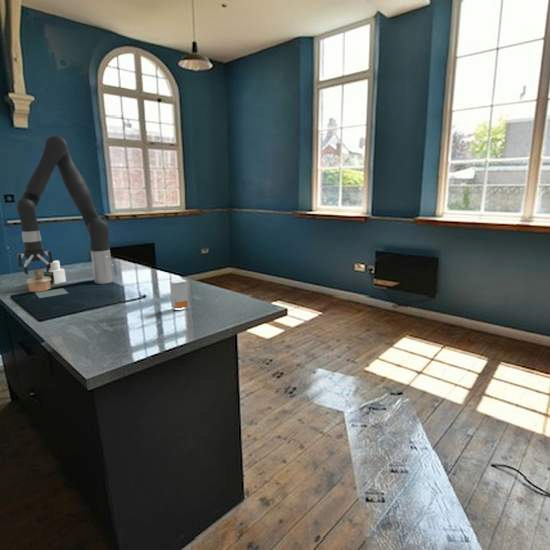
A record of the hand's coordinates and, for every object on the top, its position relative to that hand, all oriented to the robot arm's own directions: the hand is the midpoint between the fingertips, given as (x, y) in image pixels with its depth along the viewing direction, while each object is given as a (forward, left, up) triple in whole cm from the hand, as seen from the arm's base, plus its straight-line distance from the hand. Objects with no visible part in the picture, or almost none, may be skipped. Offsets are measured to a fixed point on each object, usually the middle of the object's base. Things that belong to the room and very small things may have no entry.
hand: (37, 273), depth 186 cm
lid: (0, 0, -4) cm, 4 cm away
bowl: (0, 0, -9) cm, 9 cm away
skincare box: (-39, +74, -9) cm, 85 cm away
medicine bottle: (-9, -12, -9) cm, 17 cm away
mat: (-3, +12, -9) cm, 15 cm away
